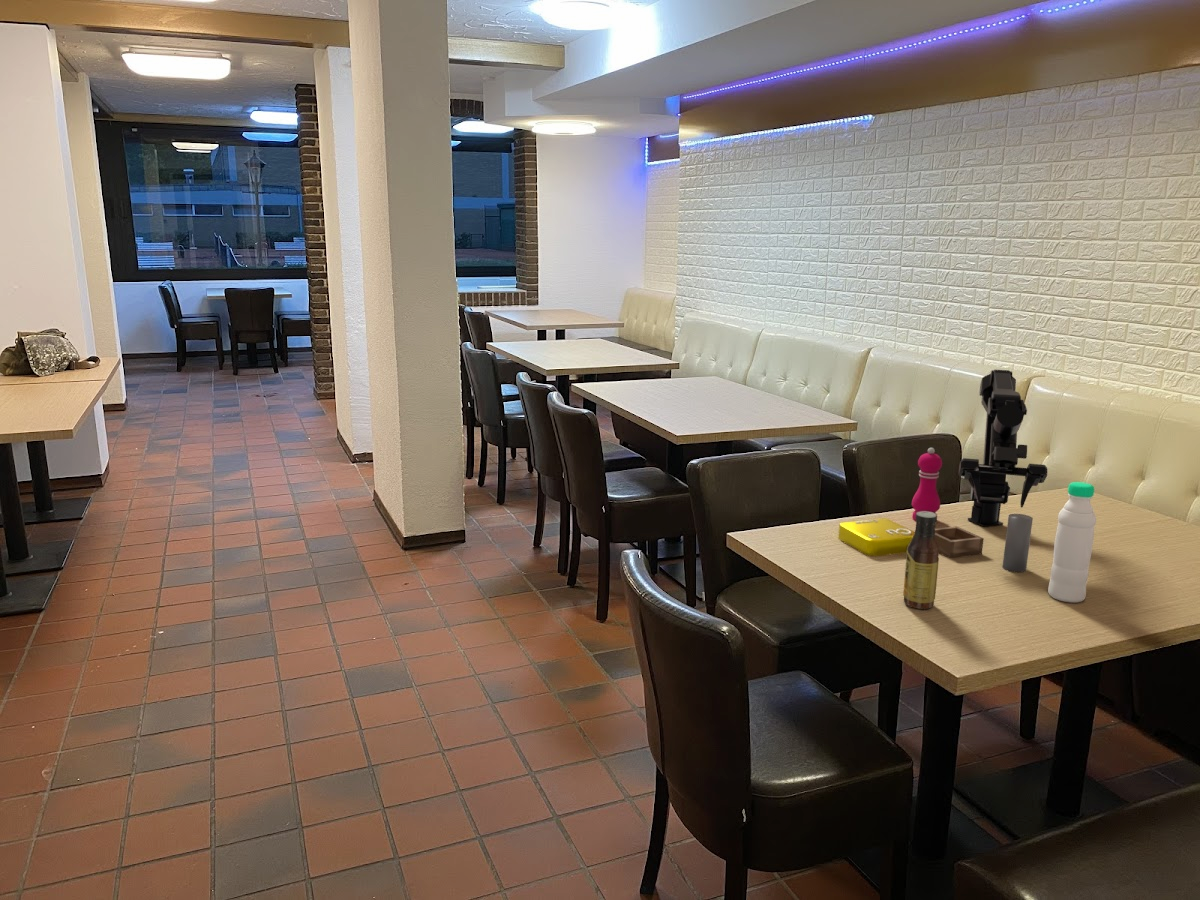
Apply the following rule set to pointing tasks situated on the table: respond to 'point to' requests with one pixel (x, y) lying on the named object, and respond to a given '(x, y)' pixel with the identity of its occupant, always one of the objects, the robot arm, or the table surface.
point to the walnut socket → (958, 542)
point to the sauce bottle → (922, 563)
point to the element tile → (876, 536)
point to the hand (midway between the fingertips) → (1000, 505)
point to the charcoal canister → (1017, 543)
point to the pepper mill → (927, 484)
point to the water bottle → (1073, 545)
